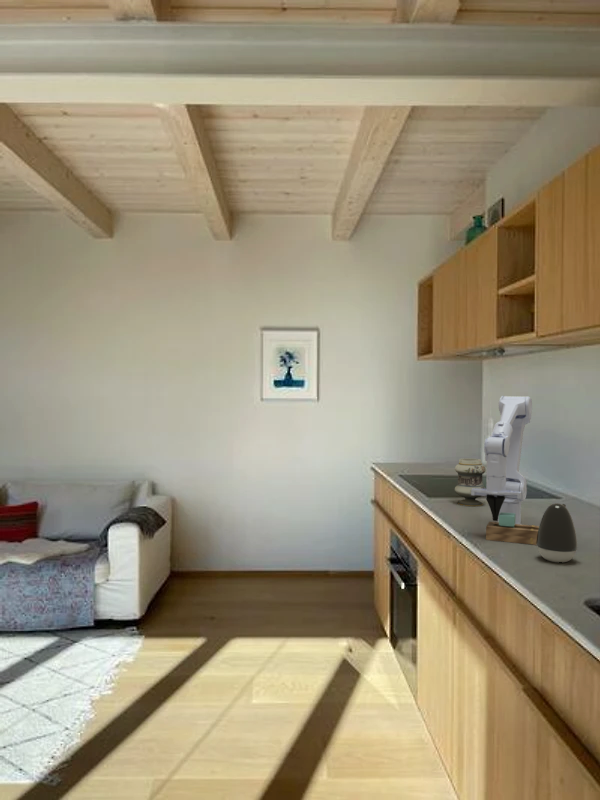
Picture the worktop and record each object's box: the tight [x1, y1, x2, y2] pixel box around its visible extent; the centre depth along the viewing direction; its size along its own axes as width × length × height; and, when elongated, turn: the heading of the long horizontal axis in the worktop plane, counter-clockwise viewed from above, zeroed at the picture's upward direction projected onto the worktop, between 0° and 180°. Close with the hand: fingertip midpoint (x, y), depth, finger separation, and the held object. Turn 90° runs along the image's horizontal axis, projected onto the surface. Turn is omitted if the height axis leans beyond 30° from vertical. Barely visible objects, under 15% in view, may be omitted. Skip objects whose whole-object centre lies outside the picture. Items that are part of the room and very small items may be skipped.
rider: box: [499, 512, 516, 528], centre depth 189 cm, size 4×5×5 cm
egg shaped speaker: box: [535, 503, 579, 563], centre depth 166 cm, size 10×10×15 cm
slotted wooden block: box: [485, 521, 540, 546], centre depth 186 cm, size 24×8×6 cm, turn 67°
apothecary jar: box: [454, 458, 487, 507], centre depth 247 cm, size 12×12×18 cm
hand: (495, 520), depth 190 cm, fingers closed
